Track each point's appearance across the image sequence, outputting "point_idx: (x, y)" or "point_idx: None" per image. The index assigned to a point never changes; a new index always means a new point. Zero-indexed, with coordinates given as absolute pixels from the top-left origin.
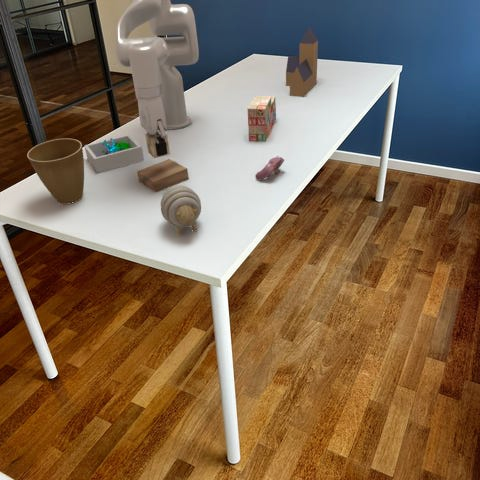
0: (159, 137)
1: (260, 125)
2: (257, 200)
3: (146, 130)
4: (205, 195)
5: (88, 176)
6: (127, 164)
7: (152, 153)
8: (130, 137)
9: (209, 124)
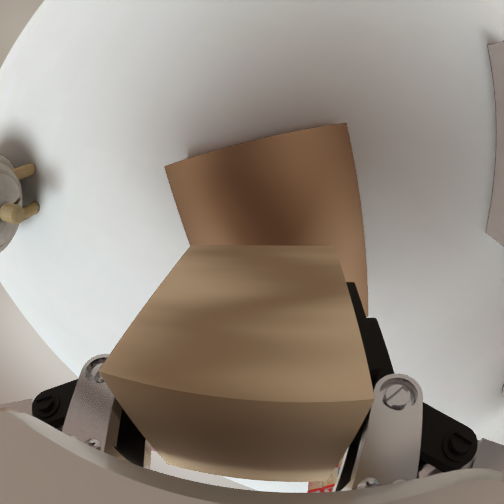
0: (35, 410)
1: (315, 489)
2: (76, 351)
3: (138, 497)
4: (110, 293)
5: (475, 12)
6: (496, 163)
7: (210, 260)
8: None
9: (467, 418)
